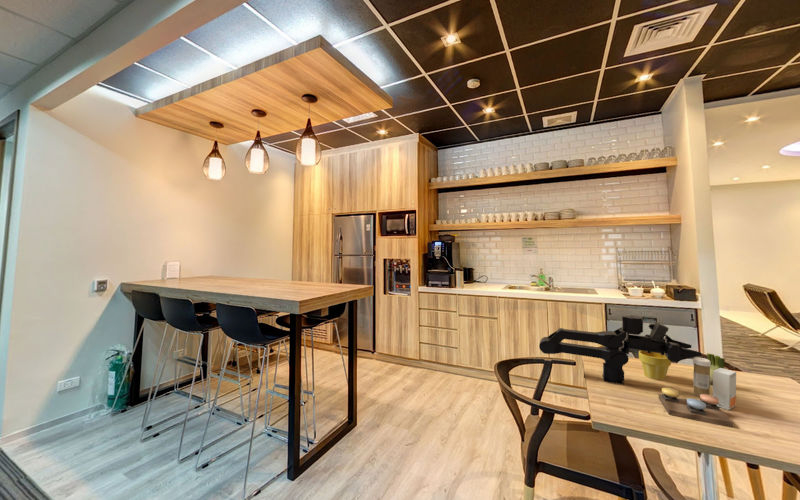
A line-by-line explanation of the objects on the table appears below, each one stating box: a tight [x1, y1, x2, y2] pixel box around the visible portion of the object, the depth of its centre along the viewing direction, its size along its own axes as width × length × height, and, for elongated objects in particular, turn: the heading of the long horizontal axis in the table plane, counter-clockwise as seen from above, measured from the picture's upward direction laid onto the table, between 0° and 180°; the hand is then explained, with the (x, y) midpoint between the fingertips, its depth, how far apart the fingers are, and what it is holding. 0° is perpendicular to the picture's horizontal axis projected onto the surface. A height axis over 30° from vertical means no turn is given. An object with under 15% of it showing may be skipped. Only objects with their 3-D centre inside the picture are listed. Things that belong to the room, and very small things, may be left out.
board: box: [658, 393, 734, 428], centre depth 100 cm, size 15×12×2 cm
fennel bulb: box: [706, 353, 726, 386], centre depth 120 cm, size 6×5×12 cm
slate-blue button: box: [686, 398, 706, 410], centre depth 98 cm, size 4×4×2 cm
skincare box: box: [712, 368, 737, 411], centre depth 104 cm, size 6×4×12 cm
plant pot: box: [638, 350, 672, 381], centre depth 127 cm, size 10×10×10 cm
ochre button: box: [661, 387, 680, 398], centre depth 105 cm, size 4×4×2 cm
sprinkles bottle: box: [692, 356, 711, 398], centre depth 111 cm, size 5×5×14 cm
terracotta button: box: [699, 394, 719, 405], centre depth 101 cm, size 4×4×2 cm
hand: (695, 349), depth 112 cm, fingers open, 9 cm apart
